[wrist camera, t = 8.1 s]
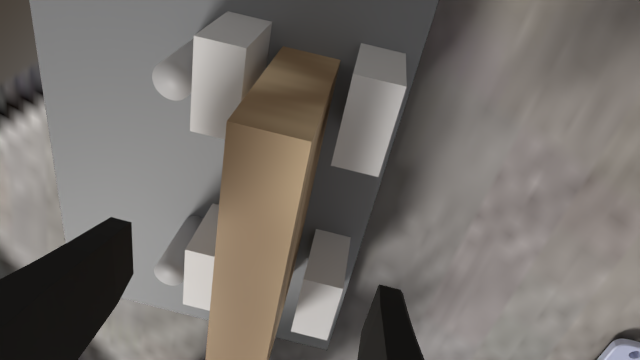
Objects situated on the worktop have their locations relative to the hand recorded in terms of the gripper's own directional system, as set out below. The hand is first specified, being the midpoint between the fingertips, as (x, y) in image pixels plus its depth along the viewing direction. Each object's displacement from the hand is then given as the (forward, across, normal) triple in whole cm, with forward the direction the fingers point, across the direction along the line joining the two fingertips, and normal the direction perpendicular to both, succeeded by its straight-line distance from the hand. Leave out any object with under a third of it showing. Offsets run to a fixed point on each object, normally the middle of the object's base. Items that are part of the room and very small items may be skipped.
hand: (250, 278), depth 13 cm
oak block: (+6, 0, 0) cm, 6 cm away
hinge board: (+7, +3, 0) cm, 8 cm away
